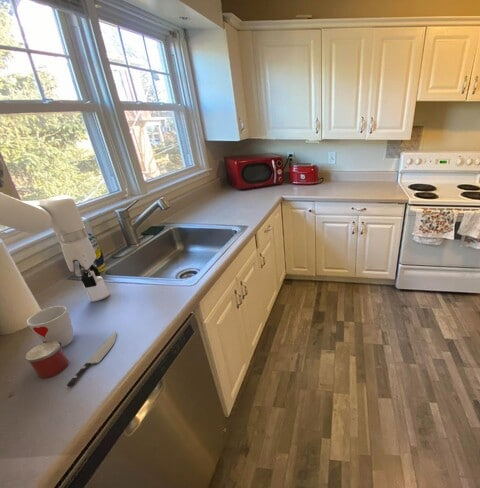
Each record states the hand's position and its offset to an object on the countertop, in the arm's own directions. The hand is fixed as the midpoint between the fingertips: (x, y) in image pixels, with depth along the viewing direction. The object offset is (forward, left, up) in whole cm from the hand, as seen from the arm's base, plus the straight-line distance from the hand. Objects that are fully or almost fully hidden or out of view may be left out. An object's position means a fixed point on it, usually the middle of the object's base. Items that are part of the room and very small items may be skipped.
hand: (93, 282), depth 98 cm
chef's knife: (+8, -32, -7) cm, 34 cm away
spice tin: (-2, -32, -7) cm, 33 cm away
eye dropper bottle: (0, 0, -7) cm, 7 cm away
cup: (-4, -21, -7) cm, 23 cm away
